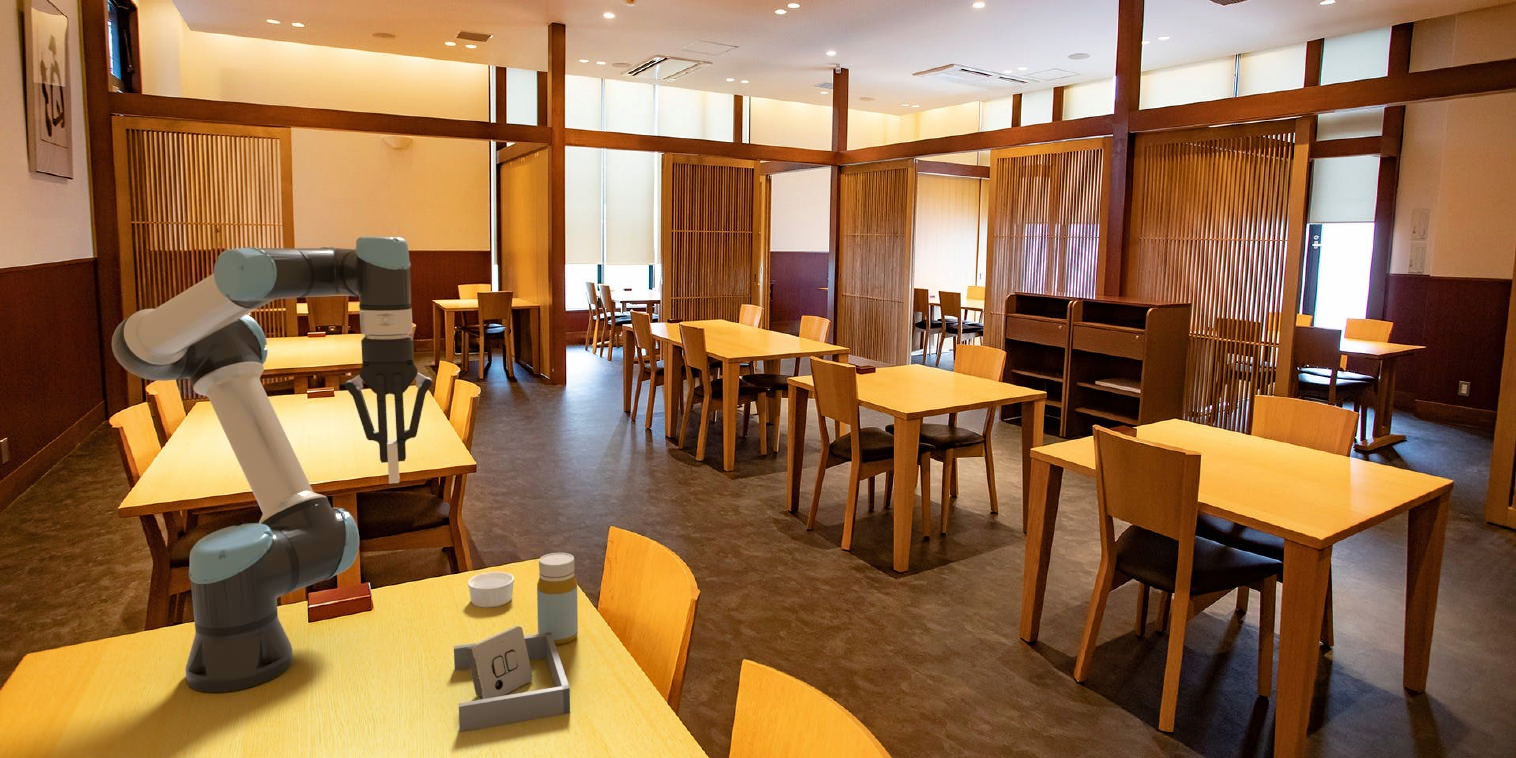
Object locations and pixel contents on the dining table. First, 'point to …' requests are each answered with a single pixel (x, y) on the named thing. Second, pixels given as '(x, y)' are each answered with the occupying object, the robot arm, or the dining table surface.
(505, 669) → the electrical switch
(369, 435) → the robot arm
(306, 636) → the dining table surface
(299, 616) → the dining table surface
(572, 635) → the bottle
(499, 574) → the ramekin
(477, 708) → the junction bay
